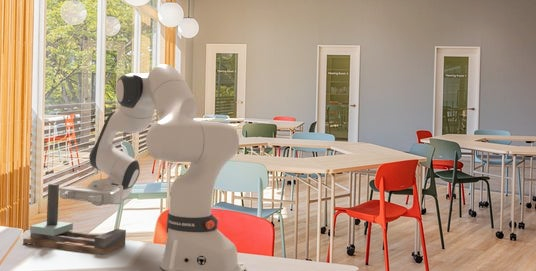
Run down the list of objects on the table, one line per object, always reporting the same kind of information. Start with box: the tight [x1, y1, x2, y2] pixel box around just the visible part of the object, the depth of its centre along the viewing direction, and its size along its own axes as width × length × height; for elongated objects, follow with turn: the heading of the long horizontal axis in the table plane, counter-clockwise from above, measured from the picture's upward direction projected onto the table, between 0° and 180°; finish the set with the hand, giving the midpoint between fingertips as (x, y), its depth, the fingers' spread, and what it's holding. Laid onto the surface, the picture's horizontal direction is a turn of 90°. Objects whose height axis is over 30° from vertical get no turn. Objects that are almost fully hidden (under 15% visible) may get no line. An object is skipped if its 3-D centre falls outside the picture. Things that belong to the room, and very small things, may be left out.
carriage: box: [29, 183, 74, 236], centre depth 161 cm, size 8×9×14 cm
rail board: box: [22, 228, 127, 255], centre depth 159 cm, size 26×12×4 cm, turn 76°
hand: (76, 198), depth 173 cm, fingers open, 8 cm apart
